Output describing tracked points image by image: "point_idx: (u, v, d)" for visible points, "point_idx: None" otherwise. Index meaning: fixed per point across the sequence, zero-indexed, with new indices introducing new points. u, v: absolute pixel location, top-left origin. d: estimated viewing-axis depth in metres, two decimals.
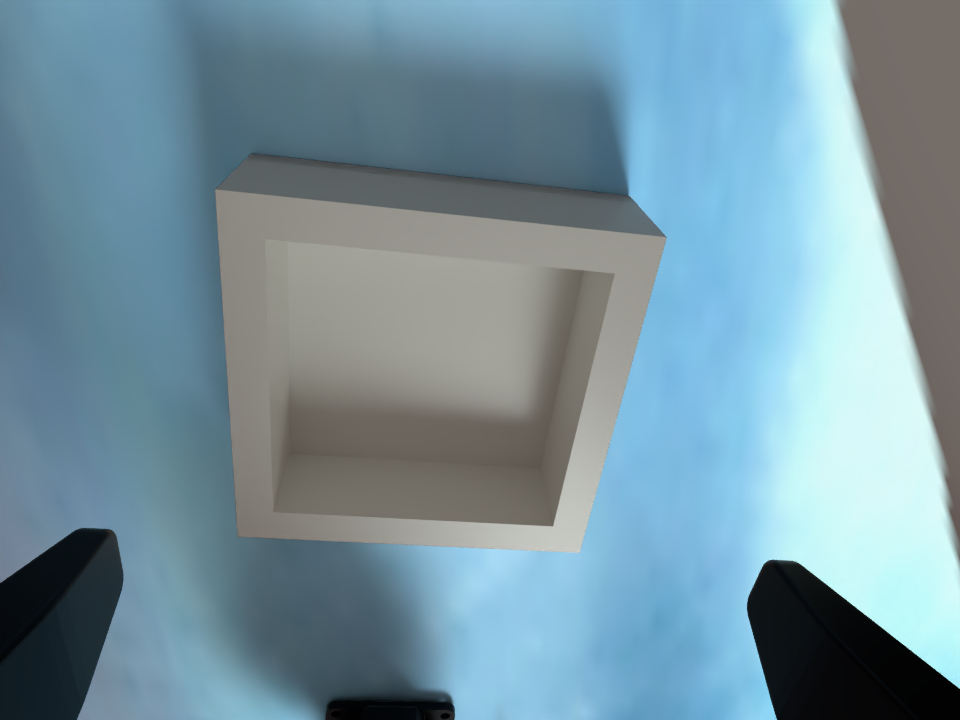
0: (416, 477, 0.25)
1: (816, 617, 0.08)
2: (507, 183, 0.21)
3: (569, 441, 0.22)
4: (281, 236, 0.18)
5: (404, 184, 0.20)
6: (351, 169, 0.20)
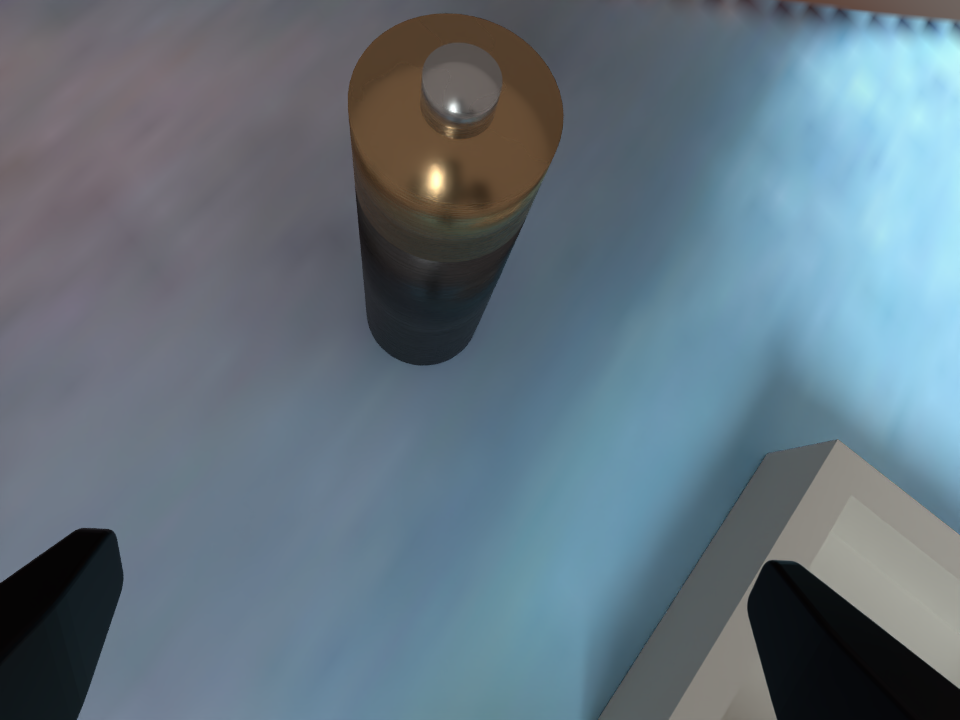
0: None
1: (816, 617, 0.08)
2: None
3: None
4: (864, 500, 0.20)
5: None
6: None
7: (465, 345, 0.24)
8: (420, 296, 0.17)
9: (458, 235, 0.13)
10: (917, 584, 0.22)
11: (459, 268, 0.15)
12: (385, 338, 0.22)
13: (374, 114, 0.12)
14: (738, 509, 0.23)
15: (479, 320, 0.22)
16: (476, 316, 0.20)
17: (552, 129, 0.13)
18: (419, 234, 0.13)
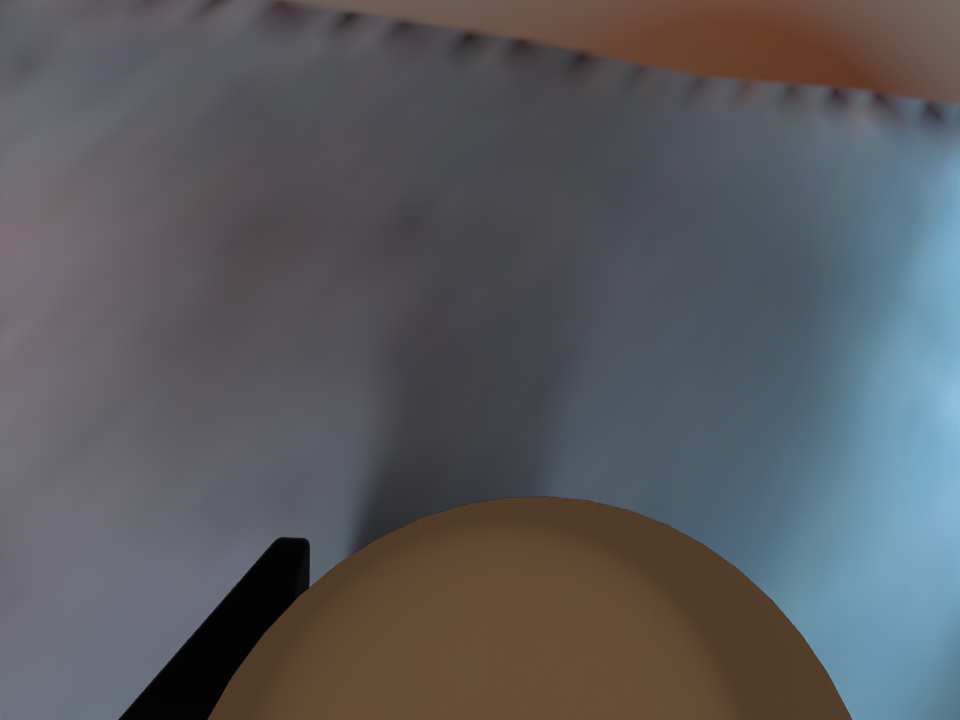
0: None
1: None
2: None
3: None
4: None
5: None
6: None
7: None
8: None
9: None
10: None
11: None
12: None
13: None
14: None
15: None
16: None
17: None
18: None
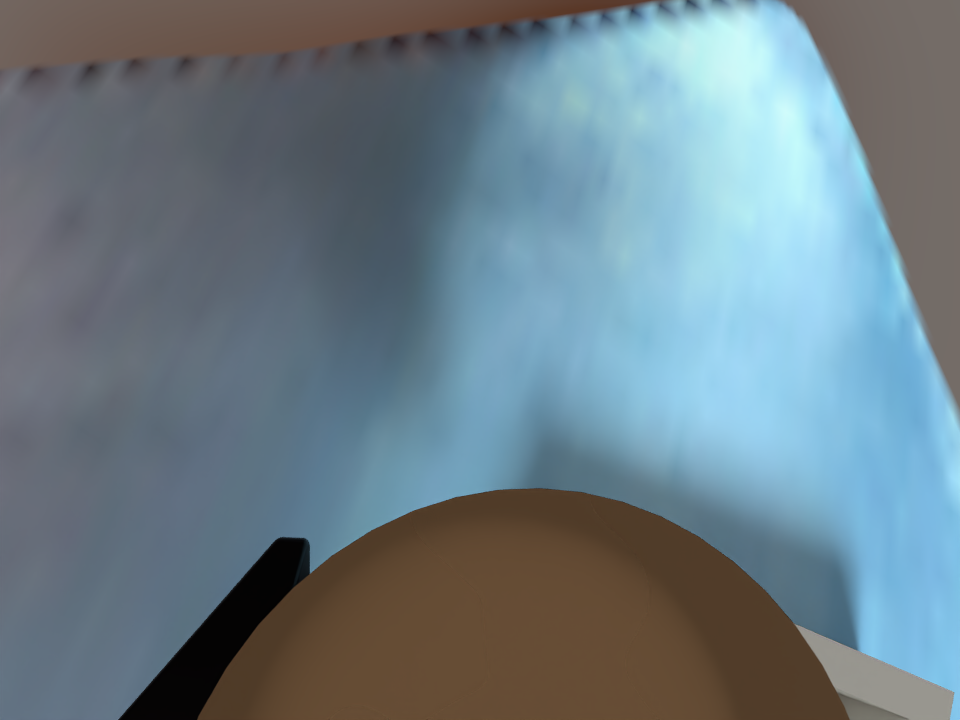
0: None
1: None
2: None
3: None
4: None
5: None
6: None
7: None
8: None
9: None
10: None
11: None
12: None
13: None
14: None
15: None
16: None
17: None
18: None
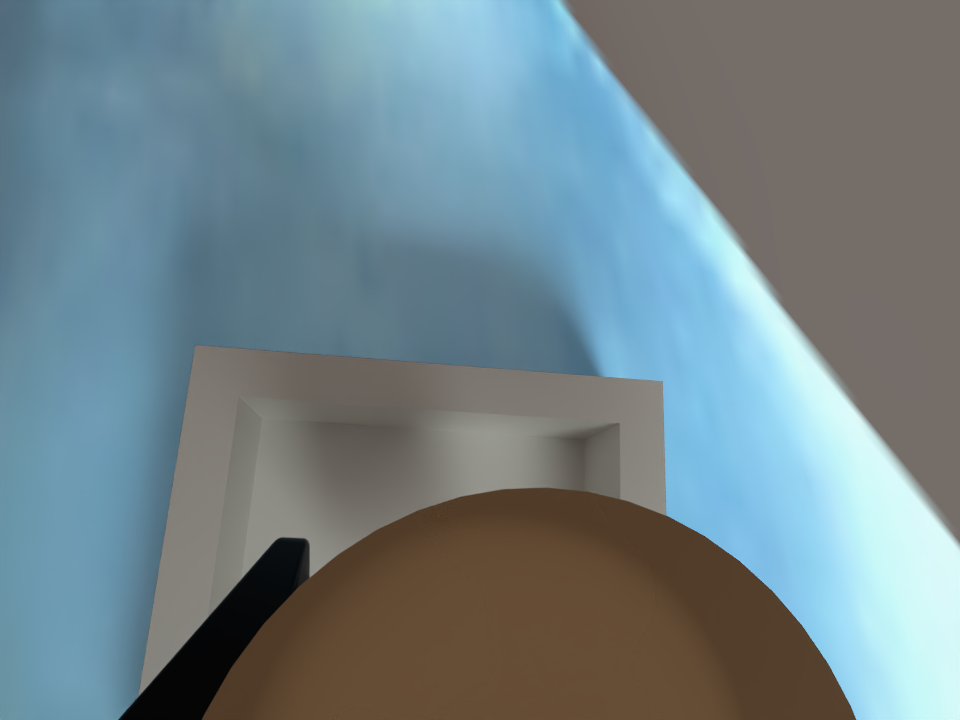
0: None
1: None
2: None
3: None
4: (257, 392, 0.16)
5: None
6: None
7: None
8: None
9: None
10: (420, 423, 0.19)
11: None
12: None
13: None
14: None
15: None
16: None
17: None
18: None
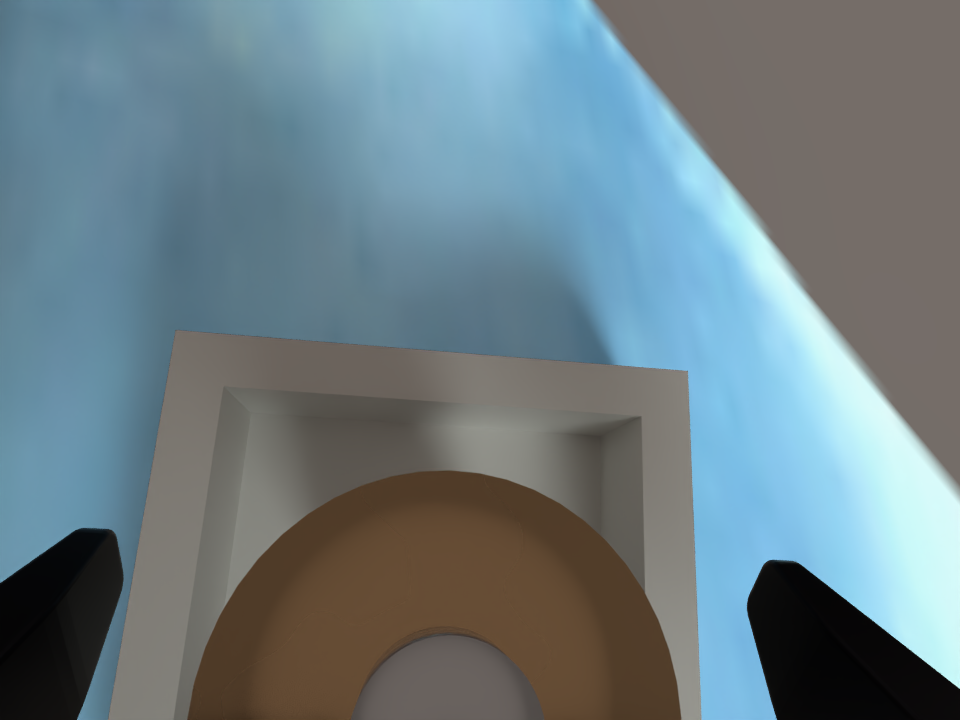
0: None
1: (816, 617, 0.08)
2: None
3: None
4: (244, 382, 0.15)
5: None
6: None
7: None
8: None
9: None
10: (422, 417, 0.17)
11: None
12: None
13: None
14: None
15: None
16: None
17: None
18: None
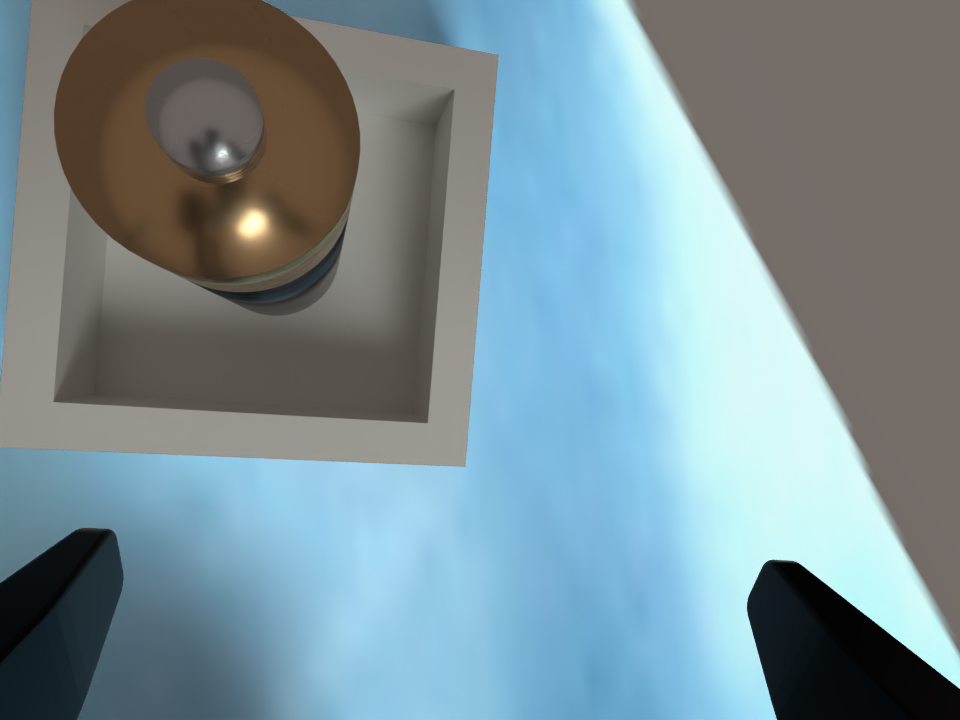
0: (258, 406, 0.20)
1: (816, 617, 0.08)
2: None
3: (434, 305, 0.20)
4: None
5: None
6: None
7: (321, 296, 0.21)
8: (228, 297, 0.14)
9: (233, 285, 0.11)
10: None
11: (258, 292, 0.12)
12: None
13: (93, 144, 0.09)
14: None
15: (331, 278, 0.20)
16: (318, 289, 0.18)
17: (343, 172, 0.10)
18: (185, 278, 0.11)
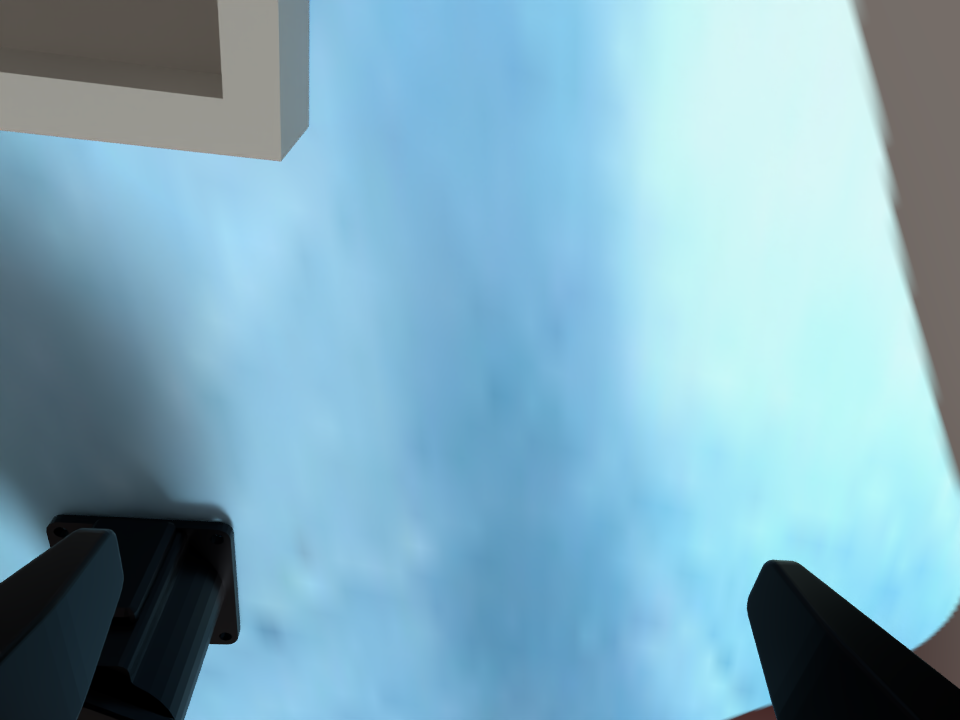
0: (35, 58, 0.16)
1: (816, 617, 0.08)
2: None
3: None
4: None
5: None
6: None
7: None
8: None
9: None
10: None
11: None
12: None
13: None
14: None
15: None
16: None
17: None
18: None
